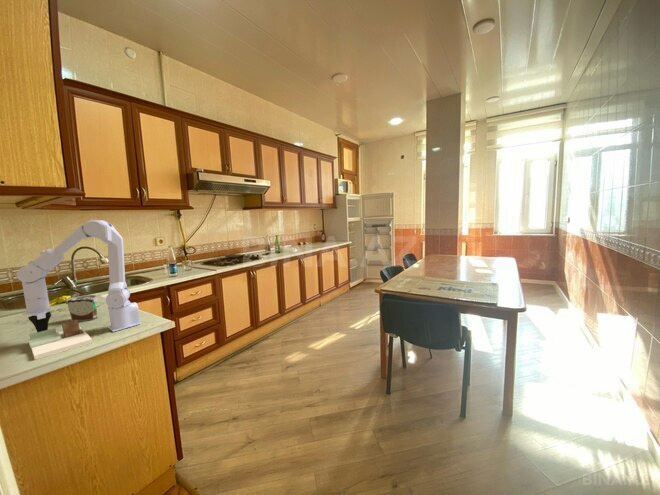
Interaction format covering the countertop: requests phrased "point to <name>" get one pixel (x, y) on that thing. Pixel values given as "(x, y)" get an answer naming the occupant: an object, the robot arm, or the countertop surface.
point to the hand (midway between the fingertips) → (42, 333)
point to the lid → (43, 337)
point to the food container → (83, 307)
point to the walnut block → (71, 328)
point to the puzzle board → (61, 344)
